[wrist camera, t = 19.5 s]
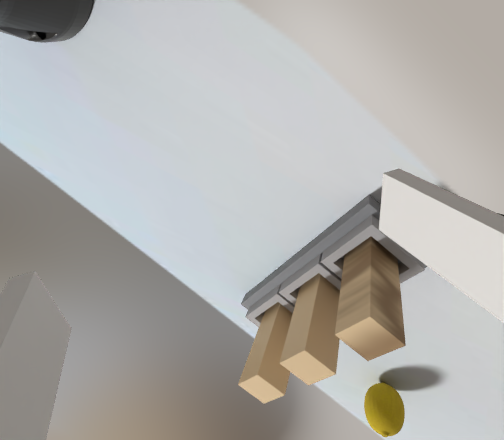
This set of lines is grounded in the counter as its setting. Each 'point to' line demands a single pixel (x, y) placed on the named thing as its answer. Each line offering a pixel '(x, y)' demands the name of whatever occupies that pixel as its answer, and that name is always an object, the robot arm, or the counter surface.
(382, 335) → the oak finger
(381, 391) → the lemon
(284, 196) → the counter surface
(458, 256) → the robot arm
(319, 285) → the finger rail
